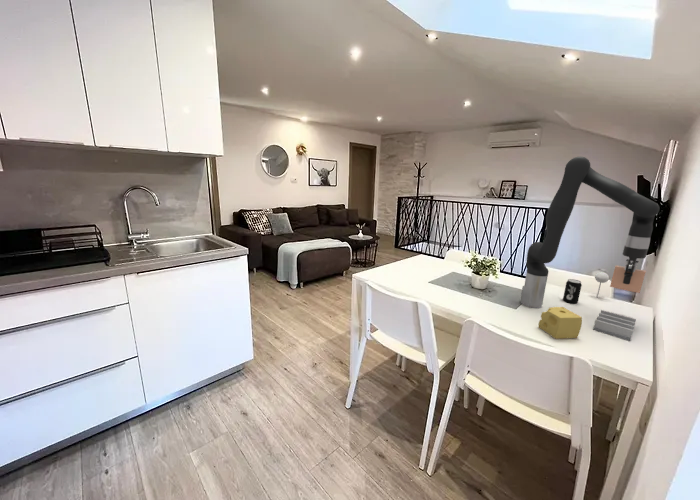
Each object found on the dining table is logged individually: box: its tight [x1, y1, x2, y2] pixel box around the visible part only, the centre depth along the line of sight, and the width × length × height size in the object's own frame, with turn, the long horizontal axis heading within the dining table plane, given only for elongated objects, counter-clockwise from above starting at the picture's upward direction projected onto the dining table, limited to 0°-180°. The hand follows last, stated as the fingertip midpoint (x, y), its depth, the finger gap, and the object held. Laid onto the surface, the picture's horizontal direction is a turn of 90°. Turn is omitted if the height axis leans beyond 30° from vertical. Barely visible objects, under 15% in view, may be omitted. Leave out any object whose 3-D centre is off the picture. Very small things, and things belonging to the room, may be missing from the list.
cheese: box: [538, 306, 583, 340], centre depth 123 cm, size 10×11×10 cm
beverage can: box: [562, 278, 583, 305], centre depth 154 cm, size 7×7×12 cm
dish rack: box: [592, 309, 637, 342], centre depth 127 cm, size 17×12×4 cm
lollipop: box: [594, 271, 610, 299], centre depth 159 cm, size 6×6×15 cm
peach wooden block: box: [609, 265, 647, 294], centre depth 130 cm, size 2×10×10 cm, turn 43°
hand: (626, 282), depth 131 cm, fingers closed on peach wooden block, 2 cm apart
